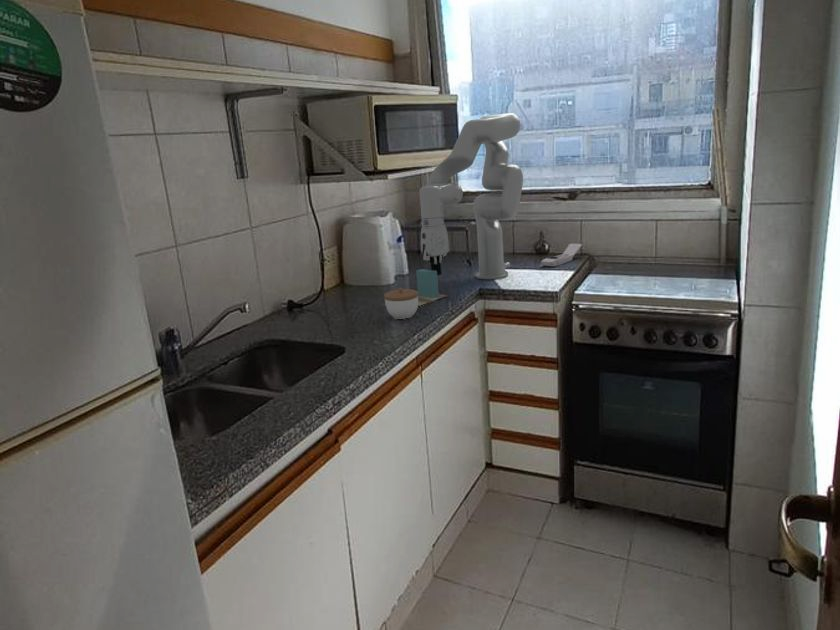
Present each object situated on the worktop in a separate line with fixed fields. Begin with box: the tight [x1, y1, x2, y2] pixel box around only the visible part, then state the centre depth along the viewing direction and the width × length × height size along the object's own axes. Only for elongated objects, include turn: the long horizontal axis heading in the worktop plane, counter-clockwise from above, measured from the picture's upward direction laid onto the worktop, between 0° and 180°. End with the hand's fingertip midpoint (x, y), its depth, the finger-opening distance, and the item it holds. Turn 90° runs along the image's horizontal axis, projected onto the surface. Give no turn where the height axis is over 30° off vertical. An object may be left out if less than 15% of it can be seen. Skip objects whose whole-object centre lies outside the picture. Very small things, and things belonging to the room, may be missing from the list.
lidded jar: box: [383, 287, 419, 320], centre depth 191 cm, size 11×11×9 cm
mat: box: [418, 293, 448, 307], centre depth 210 cm, size 16×11×1 cm
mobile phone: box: [538, 243, 583, 268], centre depth 251 cm, size 6×6×25 cm
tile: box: [416, 268, 440, 298], centre depth 212 cm, size 3×7×9 cm, turn 46°
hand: (436, 274), depth 214 cm, fingers closed
